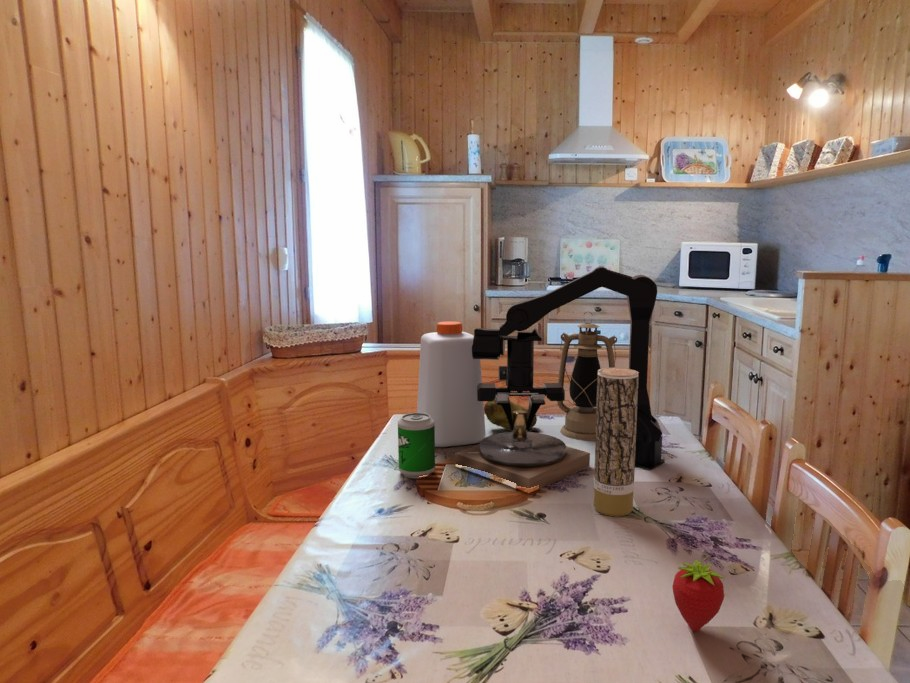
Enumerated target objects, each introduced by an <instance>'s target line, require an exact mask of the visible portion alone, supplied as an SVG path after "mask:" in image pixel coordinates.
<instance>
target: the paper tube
mask: <svg viewBox="0 0 910 683" xmlns="http://www.w3.org/2000/svg"><path fill="white" fill-rule="evenodd" d="M638 378H639V375H638V372H637V371H635V370H632V369H629V368H625V367H623V368H622V367H615V368H609V367H605V368H601V369H599V370H598V375H597V404H596V405H597V406H596V407H595V408H596V439H595V440H594V441H595V443H594V444H595V445H594V474H593V475H594V476H593V477H594V479H593V507H594V509H595V510H596V511H597V512H599V513H600V514H602V515H605V516H609V517H623V516H627V515H629V514H631V513H632V511H633V509H634V490H635V472H636V471H635V469H636V466H635V449H636V425H637V401H638Z"/></svg>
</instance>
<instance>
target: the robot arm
mask: <svg viewBox="0 0 910 683" xmlns="http://www.w3.org/2000/svg"><path fill="white" fill-rule="evenodd" d="M600 288H604V289H607V290H610V291H612V292H615V293H618V294H621V295H624V296H625V297H626V301H627V307H628V313H629V318H630V326H629V348H628V349H629V350H628V351H629V353H628V354H629V356H628V369H632V370H635V371H637V372H638V375H639V378H638V401H637V425H636V449H635V467H639V468H642V469H646V470H653V469H655V468H656V467H658V466H661V465H663V464H665V463H666V462H665V461H666V460H665V459H664V458H662V452H663V451H662V450H663V431H662V428H661V425H660V424H659V421H658V419H656V418H655V417H654V415H652V409H651V402H650V397H649V391H648V373H649V372H648V369H649V368H648V367H649V348H650V347H649V345H650V344H649V343H650V325H651V324H650V323H651V319H652V316H653V312H654V308H655V304H656V300H657V296H658V286H657V284H656V282H655V281H654V280H653V279H651V278H650V277H649V276H646V275H643V274H638V275H634V276H631V275H628V274H624V273H620V272H617V271H614V270H611V269H608V268H607V267H604V266H598V267H596V268H594V269H593V270H591V271H589V272H588V273H585V274H584V275H581V276H580V277H577V278H576V279H573V280H572V281H569V282H567V283H565V284H564V285H561V286H559V287H558V288H556V289H553V290H552V291H549V292H547V293H545V294H541V295H539V296H535V297H530V298H527V299H524V300H520V301H518V302H516V303H514V304H512V306H510V307H509V308H508V309H507V312H506V316H505V317H506V318H505V319H506V321H505V322H504V323H503V324H501V325H500V326H499V329H498V328H483V327H475V329H474V330H473V336H474V338H473V344H472V357H473V359H480V360H490V361H491V360H492V361H493V360H494V361H497V360H498V361H499V360H500V358H501V356H505V354H506V352H507V354H506V359H507V360H506V365H505V366H504V365H503V366H502V365H499V366H498V381H499V382H502V381H503V382H504V381H505V386H506V387H496V384H495V382H493V383H491V382H485V383H483V382H482V383H479V384H478V385H477V401H483V402H488V401H493V400H494V399H495V398H496V404H497V405H501V406H502V408H503V410H504V412H505V414H506V416H507V420H508V423H509V426H510V429H511V431H510V432H512V430H513V422H512V413H511V405H510V401H511V399H510V397H528V408H527V409H528V415H527V432H530V431H529V430H530V429H531V428H530V426H531V424H532V421H533V419H534V417H535V414H536V415H537V413H538V411H539V409H540V408H541V406H545V405H546V401H545V399H546V398H547V399H548V400H549V401H550V402H557V401H563V402H564V400H566V398H565V397H566V394H565V392H566V391H565V390H566V389H564V386H563V387H562V385H561V384H560V383H558V382H544V383H543V386H542V387H539V386H536V387H534V370H535V369H534V368H535V367H534V366H535V364H534V357H535V355H534V354H535V353H534V352H535V350H534V349H535V345H534V344H535V342H541V341H543V338H544V335H542V334H541V333H540V332H539V331H538V329H537V328H534V329H533V330H532V331H527V329H530V328H531V327H532V326H533V325H535V324H537V323H538V322H540V320H542V319H543V318H544V317H545V316H546V315H548V314H550V313H551V312H552V311H555V310H557V309H559V308H561V307H563V306H564V305H565V306H566V304H569V303H571V302H573V301H575V300H578V299H579V298H581V297H584V296H586V295H588V294H590V293H592V292H593V291H596V290H598V289H600ZM515 331H517V335H511V334H513V333H514V332H515ZM506 342H507V344H506ZM506 349H507V350H506Z"/></svg>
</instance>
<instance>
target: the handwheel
mask: <svg viewBox="0 0 910 683" xmlns="http://www.w3.org/2000/svg"><path fill="white" fill-rule="evenodd" d="M512 422H513V430H512V431H507V432H499V433H494V434H491V435H488V436H485V438H484V439H483V440H481V442H479V445H480V454H481V456H482V457H483V458H485V459H487V460H489V461H491V462H494V463H497V464H501V465H506V466H514V467H539V466H546V465H550V464H554V463H557V462H559V461H561V460H562V459H563V458H564V457H565V456H566V446H567V445H566V442H564V441H563V440H561V439H560V438H558V437H555V436H552V435H549V434H545V433H539V432H534V431H533V432H532V431H528V430H527V412H526V411H520V410H519V411H513V412H512Z"/></svg>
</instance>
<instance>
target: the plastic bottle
mask: <svg viewBox="0 0 910 683" xmlns="http://www.w3.org/2000/svg"><path fill="white" fill-rule="evenodd" d="M473 338H474V334H471V333H469V332H466V331H463V323H462V322H460V321H453V320H452V321H451V320H450V321H449V320H446V321H439V322H437V324H436V332H428V333H424V334H423V335H422V336H421V337H420V346H419V348H420V351H419V366H418V367H419V368H418V386H417V388H418V389H417V403H416V404H417V406H416V413H425V414H428V415H430V417H431V418H432V419H433V420H434V422H435V448H445V447H446V448H448V447H455V446H456V447H457V446H465V445H474V444H475V445H476V444H478V443H479V444H480V442H481V440H483V439H484V438H486V433H487V432H486V422H485V412H484V406H485V404H484V401H477V385H478V384H479V383H483V379H482V378H483V377H482V364H481V361H482V360H481V359H473V357H472V344H473Z"/></svg>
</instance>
